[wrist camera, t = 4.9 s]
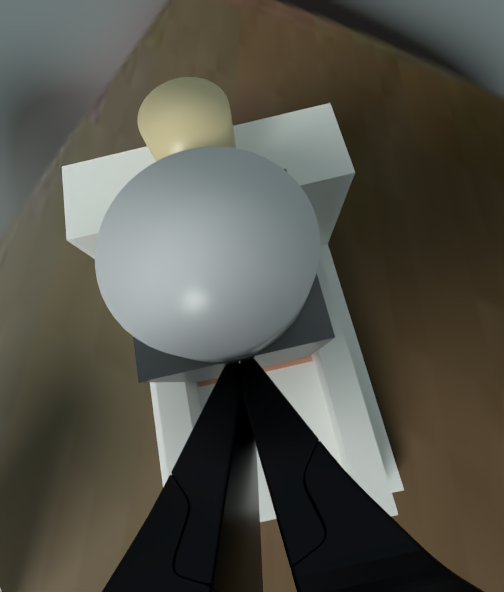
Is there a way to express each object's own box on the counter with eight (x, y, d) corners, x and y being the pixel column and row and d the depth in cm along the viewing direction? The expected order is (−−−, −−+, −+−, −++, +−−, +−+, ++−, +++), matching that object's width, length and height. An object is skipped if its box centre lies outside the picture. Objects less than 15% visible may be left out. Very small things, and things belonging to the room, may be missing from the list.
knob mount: (393, 481, 14) (594, 651, 5) (178, 529, 15) (18, 775, 5) (310, 205, 18) (344, 32, 9) (140, 245, 18) (8, 113, 9)
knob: (307, 357, 15) (350, 326, 6) (201, 381, 15) (105, 382, 6) (281, 258, 16) (288, 125, 8) (184, 281, 16) (86, 173, 8)
